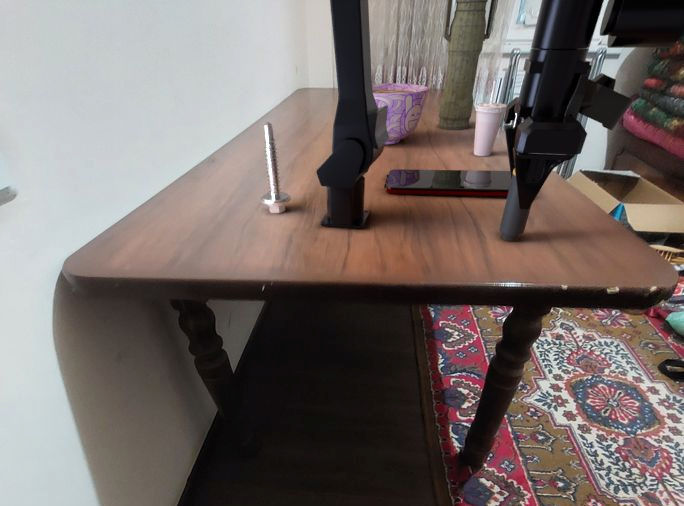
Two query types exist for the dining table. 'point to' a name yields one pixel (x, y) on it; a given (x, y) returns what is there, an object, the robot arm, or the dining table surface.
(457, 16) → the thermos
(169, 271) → the dining table surface
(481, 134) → the smoothie
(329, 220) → the robot arm
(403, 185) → the smartphone
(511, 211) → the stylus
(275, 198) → the screw
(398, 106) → the bowl of food
